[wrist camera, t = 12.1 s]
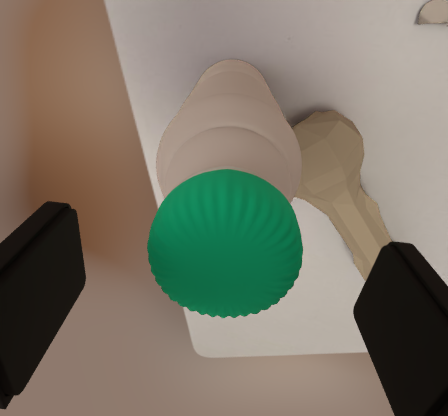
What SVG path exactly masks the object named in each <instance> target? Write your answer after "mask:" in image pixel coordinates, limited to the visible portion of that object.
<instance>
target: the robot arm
mask: <svg viewBox="0 0 448 416" xmlns="http://www.w3.org/2000/svg"><path fill="white" fill-rule="evenodd" d="M85 281H86V275H85V267H84V260H83V253H82V246H81V239H80V232H79V224H78V217H77V213H76V210H75V209H71V206H70V205H69V204H67V203H59V202H50V201H49V202H46V203H44V204H43V205H42V206H41V207H40V208H39V209H38V210H37V211H36V212H34V213H33V214H32V215H31V216H30V217H29V218H28V219H27V220H25V221H24V222H23V223H22V224H21V225H20V226H19V227H18V228H17V229H16V230H14V231H13V232H12V233H11V234H10V235H9V236H8V237H7V238H6V239H5V240H3V241H2V242H1V243H0V409H6V408H7V406H8V404H9V403H10V401H11V399H12V398H13V396H14V395H19V394H20V393H21V392H22V391H23V390H24V388H25V387H26V385H27V383H28V382H29V380H30V378H31V376H32V375H33V373H34V371H35V370H36V368H37V366H38V364H39V363H40V361H41V359H42V358H43V356H44V354H45V353H46V351H47V349H48V347H49V346H50V344H51V342H52V341H53V339H54V337H55V336H56V334H57V332H58V330H59V329H60V327H61V325H62V324H63V322H64V320H65V319H66V317H67V315H68V313H69V312H70V310H71V308H72V307H73V305H74V303H75V302H76V300H77V298H78V297H79V295H80V293H81V291H82V290H83V288H84V285H85ZM353 314H354V318H355V321H356V323H357V326H358V328H359V330H360V333H361V335H362V338H363V340H364V342H365V345H366V347H367V350H368V352H369V354H370V357H371V359H372V362H373V364H374V367H375V369H376V371H377V374H378V376H379V379H380V381H381V384H382V386H383V388H384V391H385V393H386V396H387V398H388V400H389V403H390V405H391V408H392V410H393V413H394V415H395V416H448V286H447V285H446V284H445V282H444V281H443V280H442V279H441V277H440V276H439V275H438V274H437V273H436V271H435V270H434V269H433V268H432V267H431V265H430V264H429V263H428V262H427V261H426V259H425V258H424V257H423V256H422V255H421V253H420V252H419V251H418V250H417V249H416V247H415V246H414V245H413V244H410V243H402V242H393V241H392V242H389V243H388V244H387V245H385V246H383V247H382V248H381V250H380V252H379V254H378V256H377V258H376V260H375V263H374V265H373V267H372V269H371V271H370V273H369V275H368V278H367V280H366V282H365V284H364V286H363V288H362V291H361V293H360V295H359V297H358V299H357V301H356V303H355V306H354V310H353Z"/></svg>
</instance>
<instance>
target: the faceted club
mask: <svg viewBox="0 0 448 416" xmlns="http://www.w3.org/2000/svg"><path fill="white" fill-rule="evenodd" d="M292 130H293V132H294V133H295V136H296V138H297V140H298V143H299V147H300V151H301V158H302V171H301V178H300V183H299V186H298V189H297V192H296V194H295V196H294V197H297V198H300V199H303V200H306V201H307V202H309V203H310V204H312V205H313V206H314V207H316V208H317V209H319V210H320V211H322V212H323V213H325V214H326V215H328V217H329V218H330V220H331V221H332V223H333V224H334V226H335V227H336V229H337V231H338V232H339V233H340V235H341V236H342V238H343V239H344V241H345V242H346V244H347V245H348V247H349V248H350V250H351V251H352V253H353V257H354V264H355V265H356V267H357V269H358V270H359V272H360V273H361V275H362V277H363V278H364V280H365V281H366V280H367V278H368V275H369V273H370V271H371V269H372V267H373V265H374V263H375V260H376V258H377V256H378V254H379V252H380V250H381V248H382V247H383V246H385V245H387V244H388V243H389V242H392V240H391V239H390V237H389V235H388V232H387V230H386V228H385V225H384V223H383V221H382V218H381V216H380V212H379V208H378V204H377V203H376V202H375V201H374V200H372V199H371V198H370V197H369V196H367V195H366V194H365V192H364V190H363V189H362V187H361V185H360V169H361V165H362V161H363V157H364V148H363V138H362V136H361V135H360V133H359V131H358V130H357V128H356V126H355V125H354V123H353V122H352V121H351V120H349V119H347V118H346V117H344V116H343V115H341V114H340V113H338V112H337V111H335V110H332V111H326V112H318V111H316V112H314V113H313V114H312V115H310V116H309V117H308V118H306V119H305V120H303V121H301V122H300V123H298V124H296V125H295V126H294V127H293V128H292Z"/></svg>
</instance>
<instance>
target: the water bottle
mask: <svg viewBox="0 0 448 416" xmlns="http://www.w3.org/2000/svg"><path fill="white" fill-rule="evenodd" d="M156 168H157V177H158V182H159V185H160V188H161V191H162V193H163V196H164V198H165V199H164V201H163V202H162V204H161V206H160V207H159V209H158V211H157V213H156V216H155V218H154V221H153V223H152V226H151V230H150V235H149V240H148V246H147V249H148V253H149V258H148V259H149V263H150V265H151V272H152V273H153V275H154V276H155V279H156V282H157V283H158V284H159V285H160V286H161V287H162V290H163V292H165V293H166V294H168V295H169V297H170V299H171V300H173V301H177V302H178V304H179V305H180V306H182V307H187V308H188V309H189V310H190V311H197V312H199V313H200V314H201V315H204V314H208V315H210V316H211V317H215V316H217V315H218V316H220V317H222V318H225V317H227V316H231V317H233V318H236V317H237V316H239V315H242V316H247V315H248V314H250V313H252V314H257V313H259V312H260V311H261V310H267V309H268V308H269V307H270V306H271V305H274V304H277V303H278V302H279V300H280V298H282V297H284V296H285V295H286V294H287V291H288V290H289V289H291V288H292V286H293V285H294V281H295V280H296V279H297V278H298V276H299V270H300V268H301V265H302V254H303V246H302V240H301V233H300V229H299V225H298V222H297V219H296V215H295V213H294V210H293V208H292V206H291V205H290V203H291V201H292V200H293V198H294V196H295V194H296V192H297V189H298V186H299V183H300V178H301V171H302V158H301V151H300V147H299V143H298V140H297V138H296V136H295V133H294V132H293V130H292V128H291V126H290V125H289V123H288V122H287V121H286V119H285V118H284V115H283V113H282V111H281V109H280V107H279V105H278V103H277V102H276V100H275V98H274V97H273V95H272V94H271V91H270V89H269V87H268V86H267V84H266V81H265V79H264V78H263V76H262V75H261V73H260V72H259V71H258V70H257V69H256V68H255V67H253V66H252V65H250V64H249V63H247V62H244V61H241V60H234V59H230V60H224V61H220V62H218V63H216V64H214V65H212V66H211V67H209V68H208V69H207V70H206V71H205V72H204V73H203V75H202V76H201V78H200V79H199V81H198V83H197V84H196V86H195V87H194V89H193V91H192V92H191V94H190V95H189V96H188V98H187V99H186V100H185V102H184V104H183V105H182V107H181V109H180V110H179V112H178V114H177V115H176V116H175V117H174V119H173V120H172V121H171V122H170V124H169V125H168V127H167V128H166V130H165V132H164V134H163V136H162V138H161V141H160V144H159V148H158V152H157V161H156Z"/></svg>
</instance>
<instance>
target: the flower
mask: <svg viewBox="0 0 448 416" xmlns="http://www.w3.org/2000/svg"><path fill="white" fill-rule="evenodd" d="M428 23H448V2H446V1H444V0H432V1H430V2H429V3H427V4H425V6H424V7H423V9H422V10H421V12H420V15H419V21H418V24H428ZM447 26H448V25H447Z"/></svg>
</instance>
